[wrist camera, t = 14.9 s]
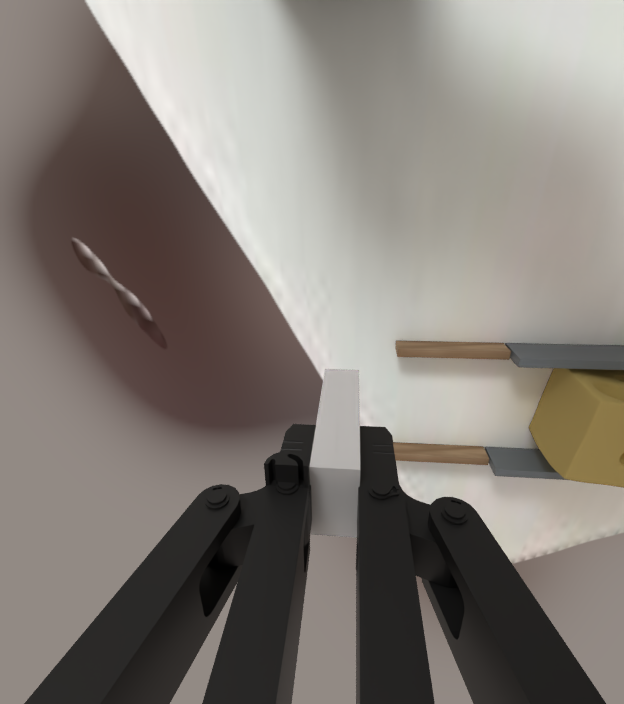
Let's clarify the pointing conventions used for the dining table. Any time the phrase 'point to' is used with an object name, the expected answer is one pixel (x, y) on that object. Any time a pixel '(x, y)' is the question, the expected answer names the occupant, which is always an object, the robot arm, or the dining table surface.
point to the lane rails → (446, 351)
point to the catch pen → (549, 356)
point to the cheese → (583, 425)
